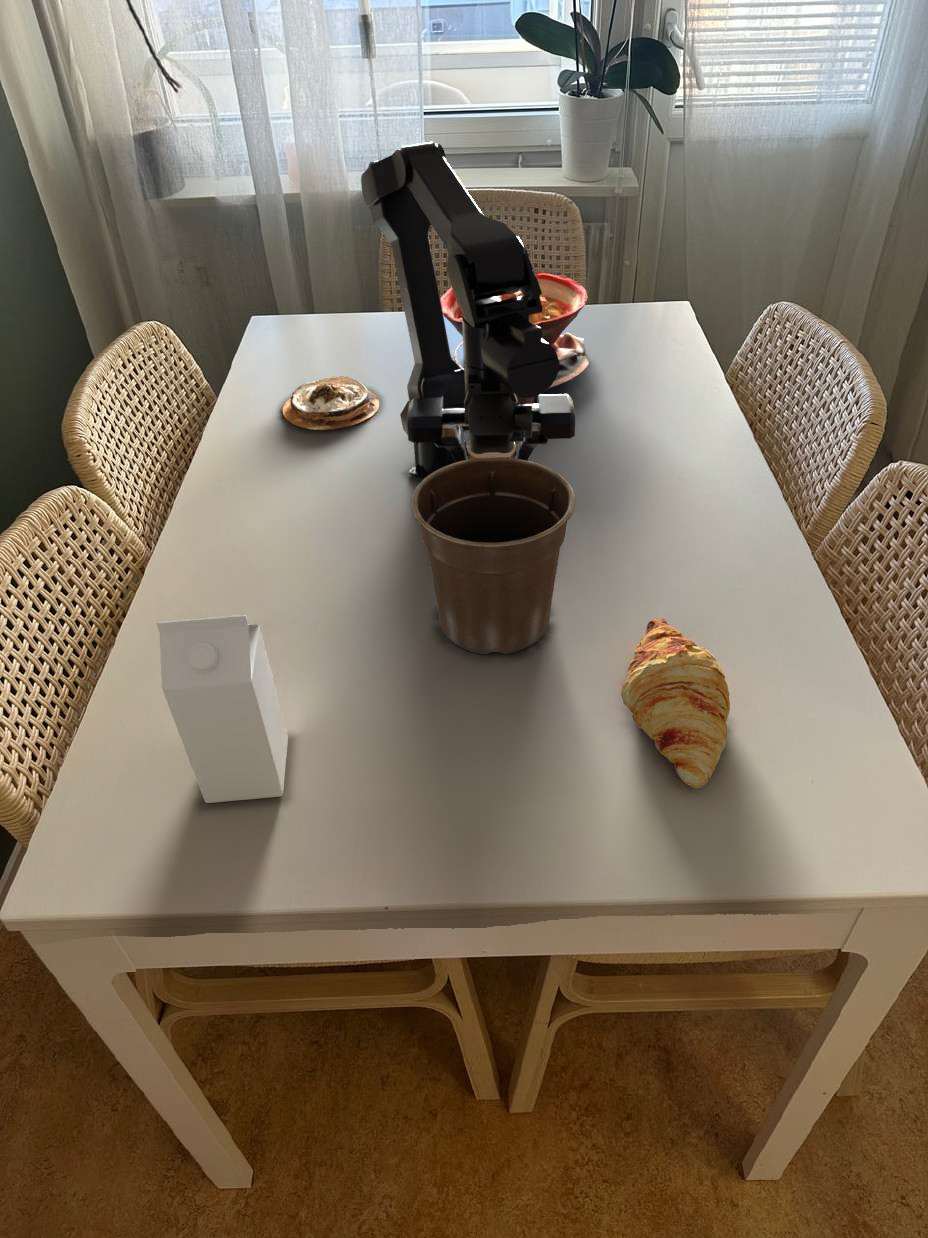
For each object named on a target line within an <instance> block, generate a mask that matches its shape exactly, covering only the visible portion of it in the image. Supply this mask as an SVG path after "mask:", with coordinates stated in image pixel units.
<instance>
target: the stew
mask: <svg viewBox="0 0 928 1238" xmlns="http://www.w3.org/2000/svg"><path fill="white" fill-rule="evenodd" d="M534 272H535V275H536V277H537V280H538V283H539V286H540V288H541V291H542V294H541V296H540V301H541V304H542V309H543V310H542V313H537V314H533V315H529V322H530V323H532V324H535V325H537V326H538V327H539V328H541V330H542V339H543V340H544V341H546V342H547V343H548V344H549V345H551V346H552V347H553V348H554V350H555V351H556V353H557V356H558V359H559V371H558V374H557V377H556V379H555V381H554V382H553V384H552V385H551V386H550V387H549V388H548V389H550V388H554V387H557V386H559V385H561V384H563V383H566V382H568V381H570V380H573V379H574V378H575V377H577V376H578V375H580V374H581V373H582V372H583V371H584V370H585V369H586V368H587V367H588V365H589V364H590V362H589V360H588V357H587V353H586V345H585V343H584V341H585V339H584V338H582V337H576V336H575V335H573V334H571V333H569V332H565V333H563V332H564V331H565V330H566V329H567V328H568V327H569V326H570V324H571V323H572V322H573V321H574V320H575V319H576V318H577V317H578V315H579V313H580V311H581V310H582V309H583V308H584V307H585V305H586V303H588V292H587V290H586V289H585V287H584V286H582V285H581V284H580V283H579V282H578V281H576V280H575V279H573V278H569V277H567V276H566V275H561V274H554V273H548V272H545V271H544V272H543V271H534ZM521 296H523V294H522V292H521V290H519V292H516V293H512V294H507V295H502V296H498V297H497V298H498V299H500V300H506V299H511V298H516V297H521ZM440 301H441V306H442V311H443V317H444V319H446V320H447V321H448V322H449V323H450V324H451V325H452V326H453V327H454V328H455V329H456V331H457V333H459V335H461V337H463V327H462V310H461V308H460V307H459V306H458V305H457V299H456V296H455V294H454V292H453V289H452V287H451V288H449V289H448V290H446V291H445V293H444V294H443V295H442V296H441V297H440ZM562 333H563V334H562ZM461 346H463V341H462V342H460V343H459V344H458V345H457V347H456V349H455V350H454V353H453V360H454V361H455V362H456V363H457V364H458V366H459V367H460V368H461V369H464V366H462V365H461V364H460V362H459V361H458V360H457V357H458V349H459V348H460V347H461ZM516 397H517V402H520V403H524V404H527V405H529V404H534V398H535V397H533V398H523V397H519V396H518V395H516Z"/></svg>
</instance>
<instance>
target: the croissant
mask: <svg viewBox="0 0 928 1238" xmlns="http://www.w3.org/2000/svg"><path fill="white" fill-rule="evenodd" d="M645 632H646V633H645V635H644V636H643V637H642V638H641V639H640V642H638V644H637V646H636V647H635V650H634V651H633V652H634V654H635V655H634V656H633V658H632V660H631V661H630V663H629V666H628V667H627V671H626V680H625V681H624V683H623V684H622V687H621V690H620V694H621V697H622V702H623V703H622V704H623V705H625V707H627V709H628V710H629V712H631V714H632V720H633V721H634V722H635V724H636V726H637V727H638V728H639V729H642V730H643V731H644V732H645V734H646V735H647V736H649V738H650V740H654V744H655V745H654V746H655V748H656V749H657V751H659V754H661V756H664V757H665V758H666V759H667V760H668V761H669V763H672V764H673V765H674V766H673V768H674V769H675V772H676V775H677V776H678V777H679V778H680V779H681V781H682V782H684V784H685V785H688V786H689V787H691V788H693V789H701V788H703V787H704V786H705V785H706V784H708V782H709V779H711V777H712V776H713V773H714V772H715V770H716V766H717V765H718V763H719V760H720V759H721V755H722V751H724V749H725V747H726V744H727V739H728V724H727V721H728V718H729V715H730V710H731V702H730V692H729V686H728V683H727V681H726V676H725V674H724V673H723V669H722V667H721V666H720V664H719V663H718V661H717V659H716V658H715V657H714V655H713V654H712V653H711V652H710V651H709V650H708V649H706V648H705V647H703V646H698V645H697V644H696V642H694V640H692V639H690V638H688V637H685V636H684V634H683V633H682V632H681V631H680V630H679V629H677V628H676V627H674V626H672V625H670V624H669V623H668V622H667V621H666V619H665V618H664V617H660V618H652V619H651V620H650V621H649V622H648V623H647V625H646V631H645Z"/></svg>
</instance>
